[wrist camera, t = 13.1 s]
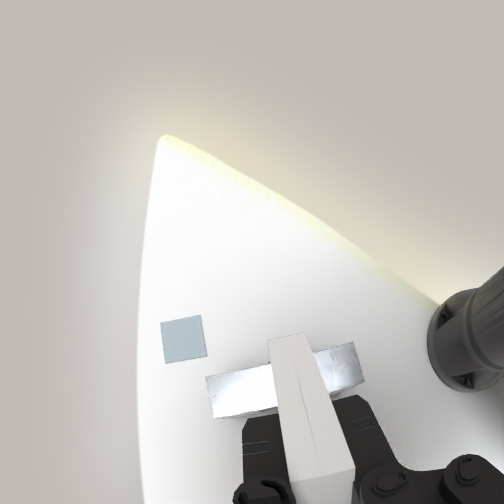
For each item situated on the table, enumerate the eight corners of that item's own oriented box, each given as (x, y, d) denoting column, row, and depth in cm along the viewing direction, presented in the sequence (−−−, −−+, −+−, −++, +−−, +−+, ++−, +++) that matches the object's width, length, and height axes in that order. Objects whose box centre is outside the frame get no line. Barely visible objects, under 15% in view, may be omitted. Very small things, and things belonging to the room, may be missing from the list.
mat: (200, 315, 45) (200, 314, 45) (207, 356, 42) (206, 355, 42) (160, 323, 45) (160, 322, 45) (165, 363, 42) (165, 363, 42)
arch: (333, 362, 40) (352, 339, 29) (341, 392, 38) (364, 381, 27) (228, 387, 40) (205, 374, 28) (234, 417, 38) (213, 418, 26)
